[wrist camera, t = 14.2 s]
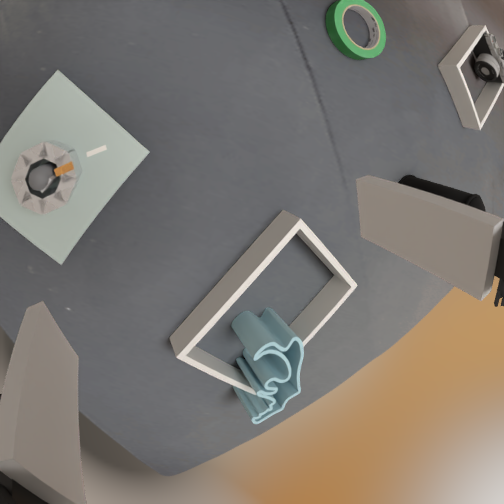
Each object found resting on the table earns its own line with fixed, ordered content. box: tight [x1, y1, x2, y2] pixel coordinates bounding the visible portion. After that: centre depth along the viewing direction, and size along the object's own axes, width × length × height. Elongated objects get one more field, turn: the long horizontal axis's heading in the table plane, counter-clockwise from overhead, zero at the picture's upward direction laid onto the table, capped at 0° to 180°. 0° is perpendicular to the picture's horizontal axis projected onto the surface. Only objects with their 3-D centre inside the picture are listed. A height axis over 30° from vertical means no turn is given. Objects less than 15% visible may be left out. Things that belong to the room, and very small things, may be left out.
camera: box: [471, 33, 504, 83], centre depth 51 cm, size 16×9×10 cm, turn 48°
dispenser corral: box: [169, 210, 358, 395], centre depth 50 cm, size 18×26×5 cm
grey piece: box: [11, 140, 82, 215], centre depth 29 cm, size 7×7×7 cm
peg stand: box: [0, 70, 150, 265], centre depth 29 cm, size 16×18×10 cm
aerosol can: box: [399, 175, 485, 212], centre depth 50 cm, size 8×8×20 cm
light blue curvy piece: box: [231, 307, 304, 424], centre depth 52 cm, size 18×10×9 cm, turn 6°
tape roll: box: [326, 0, 386, 60], centre depth 40 cm, size 11×11×3 cm
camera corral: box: [438, 25, 504, 130], centre depth 53 cm, size 17×24×5 cm
